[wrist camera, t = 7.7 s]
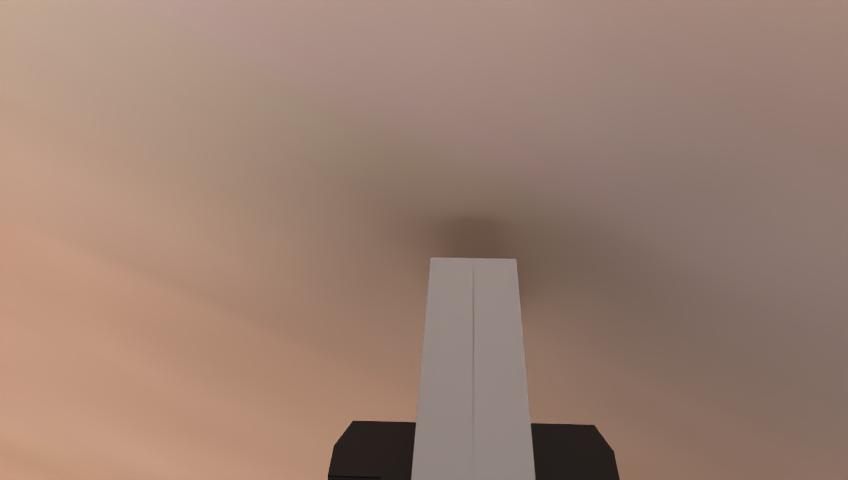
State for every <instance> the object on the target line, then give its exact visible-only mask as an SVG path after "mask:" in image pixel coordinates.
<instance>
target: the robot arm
mask: <svg viewBox="0 0 848 480" xmlns="http://www.w3.org/2000/svg"><path fill="white" fill-rule="evenodd" d="M328 480H620V479H619V475H618V470H617V465H616V460H615V455H614V451H613V450H612V449H611V447H610V446H609V445H608V443H607V442H606V441H605V439H604V438H603V436H602V435H601V434H600V432H599V431H598V430H597V428H596V427H595V426H594V425H573V424H536V423H531V422H530V411H529V399H528V388H527V376H526V365H525V353H524V342H523V330H522V319H521V307H520V296H519V284H518V273H517V261H516V259H500V258H436V257H431V259H430V270H429V282H428V293H427V305H426V316H425V328H424V339H423V350H422V362H421V373H420V385H419V396H418V407H417V419H416V422H381V421H353V422H352V423H351V424H350V426H349V427H348V428H347V430H346V431H345V432H344V433H343V435H342V436H341V437H340V439H339V440H338V441H337V443H336V444H335V445H334V448H333V453H332V458H331V463H330V468H329V473H328Z"/></svg>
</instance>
